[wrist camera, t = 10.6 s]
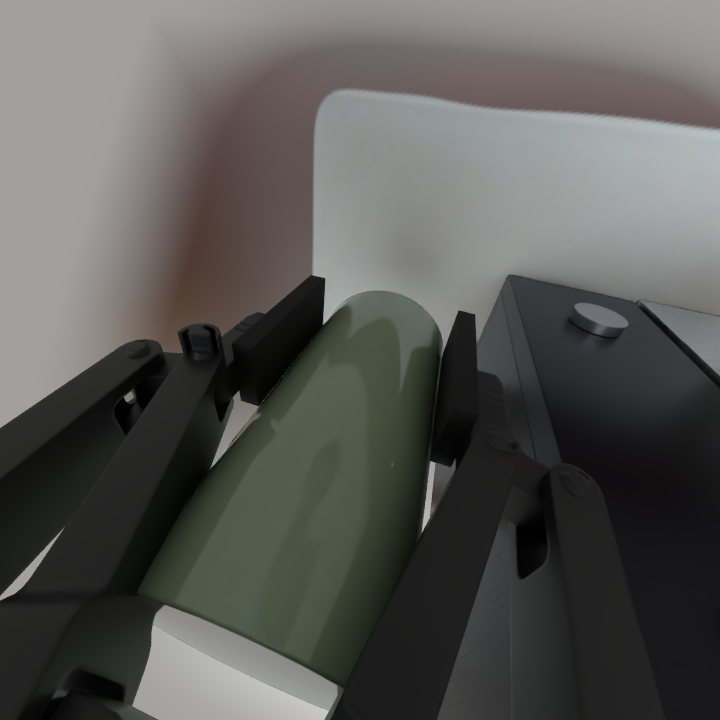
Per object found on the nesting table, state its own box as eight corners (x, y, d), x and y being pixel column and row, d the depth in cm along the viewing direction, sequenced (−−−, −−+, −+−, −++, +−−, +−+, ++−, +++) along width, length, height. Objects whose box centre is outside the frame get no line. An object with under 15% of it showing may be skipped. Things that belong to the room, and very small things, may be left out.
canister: (329, 277, 16) (53, 552, 5) (459, 306, 15) (439, 724, 4) (325, 375, 21) (166, 637, 10) (426, 403, 19) (374, 734, 9)
